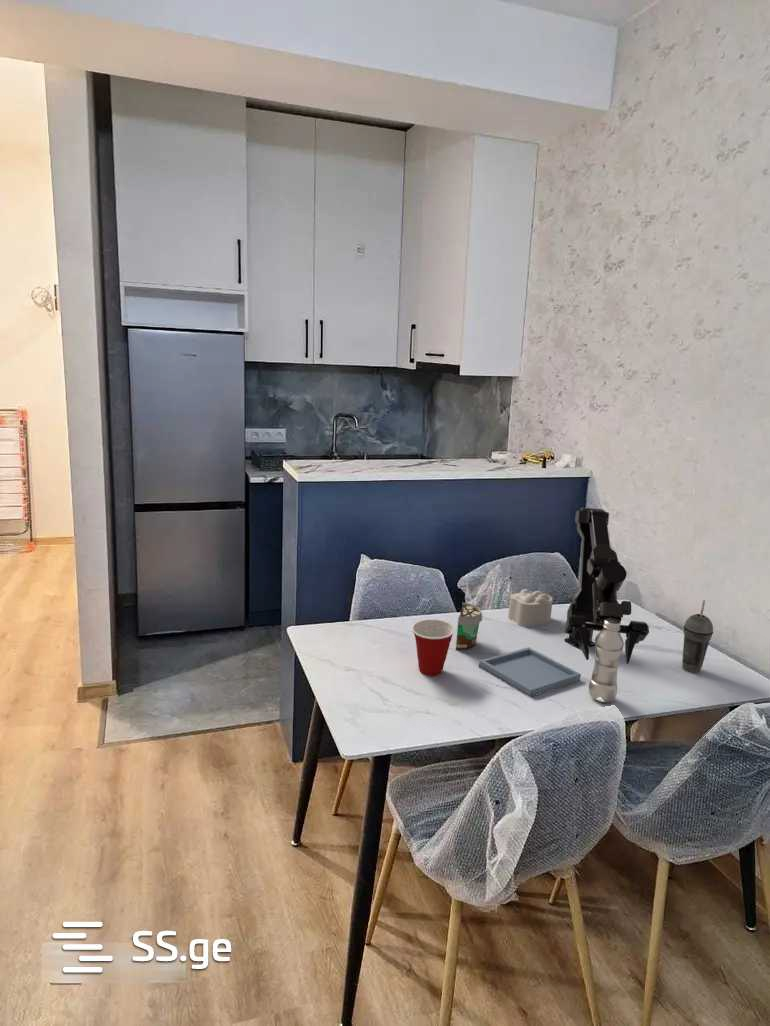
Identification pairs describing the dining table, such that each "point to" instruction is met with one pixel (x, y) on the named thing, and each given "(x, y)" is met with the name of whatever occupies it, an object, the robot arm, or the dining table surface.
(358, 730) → the dining table surface
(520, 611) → the beige lumpy box
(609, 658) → the plastic bottle
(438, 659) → the plastic cup
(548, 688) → the blue-gray tray
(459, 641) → the food container
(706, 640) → the beverage cup
